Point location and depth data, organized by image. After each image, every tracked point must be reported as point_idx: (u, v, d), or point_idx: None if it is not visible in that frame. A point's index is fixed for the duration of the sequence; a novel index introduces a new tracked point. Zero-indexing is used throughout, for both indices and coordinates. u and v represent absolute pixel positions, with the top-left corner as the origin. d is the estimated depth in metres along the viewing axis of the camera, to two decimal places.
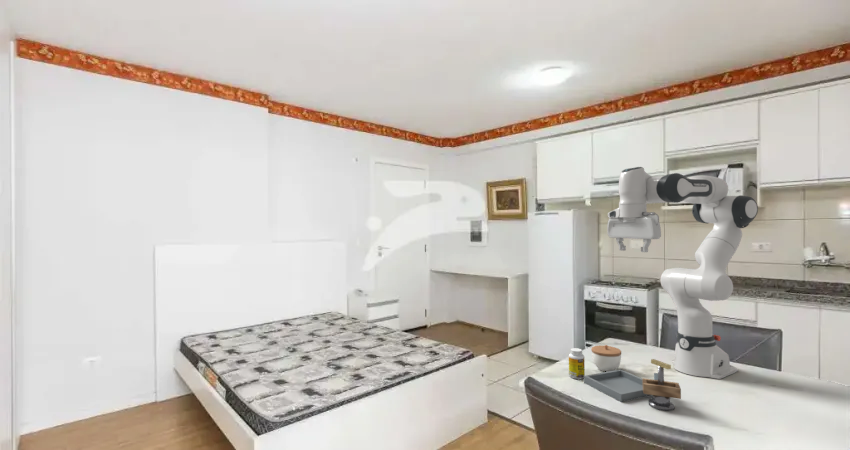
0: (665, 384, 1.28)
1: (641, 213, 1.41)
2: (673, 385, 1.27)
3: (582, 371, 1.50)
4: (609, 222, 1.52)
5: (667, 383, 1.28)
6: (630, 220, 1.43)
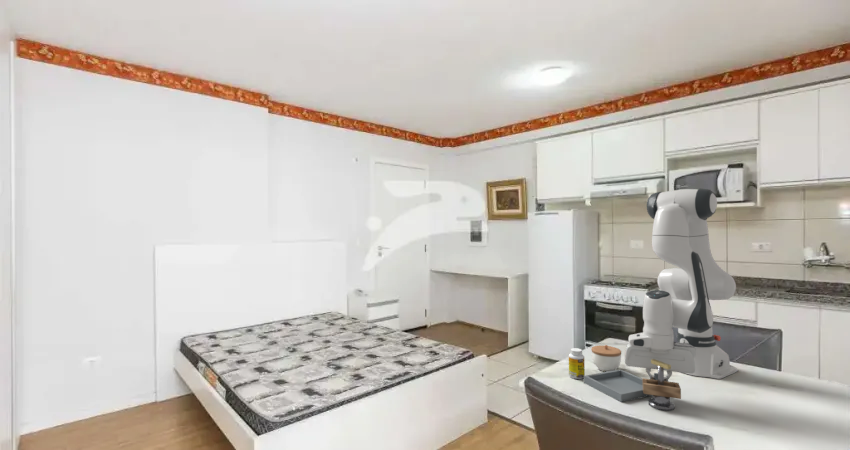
0: (665, 384, 1.28)
1: (673, 343, 1.32)
2: (673, 385, 1.27)
3: (582, 371, 1.50)
4: (630, 350, 1.36)
5: (667, 383, 1.28)
6: (664, 352, 1.31)
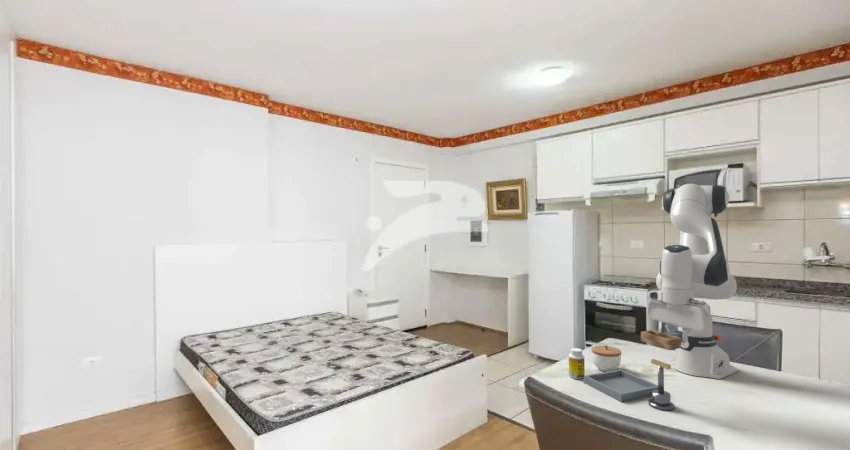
0: (668, 337, 1.27)
1: (688, 300, 1.26)
2: None
3: (582, 371, 1.50)
4: (649, 302, 1.37)
5: (669, 336, 1.26)
6: (675, 306, 1.28)
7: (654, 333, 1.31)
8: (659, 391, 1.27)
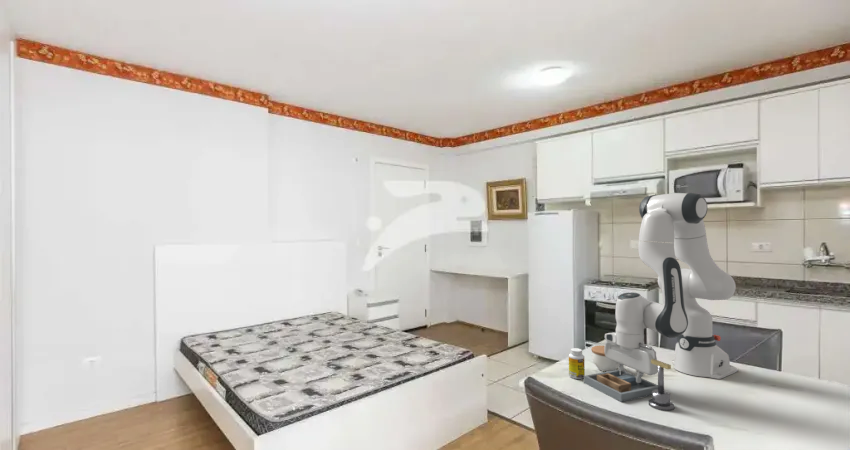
0: (620, 382, 1.39)
1: (638, 344, 1.38)
2: None
3: (582, 371, 1.50)
4: (606, 343, 1.50)
5: (621, 381, 1.39)
6: (627, 349, 1.40)
7: (609, 376, 1.44)
8: (659, 391, 1.27)
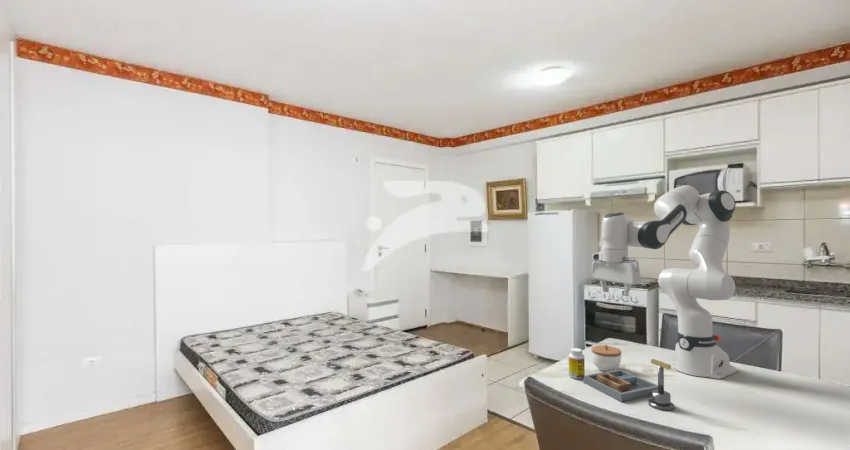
0: (620, 382, 1.39)
1: (622, 258, 1.46)
2: None
3: (582, 371, 1.50)
4: (593, 264, 1.58)
5: (621, 381, 1.39)
6: (612, 264, 1.48)
7: (609, 376, 1.44)
8: (659, 391, 1.27)
